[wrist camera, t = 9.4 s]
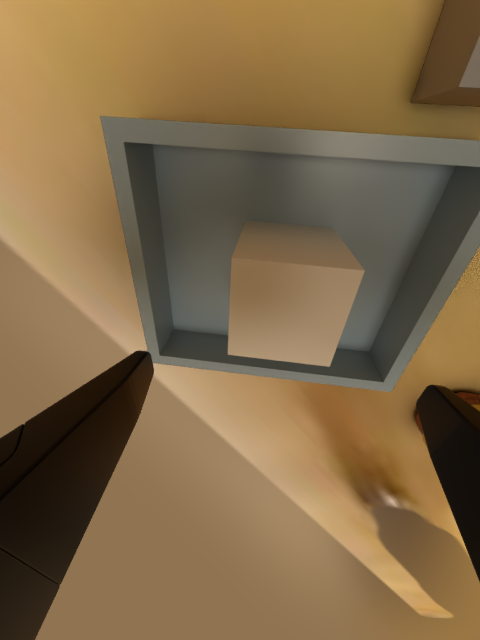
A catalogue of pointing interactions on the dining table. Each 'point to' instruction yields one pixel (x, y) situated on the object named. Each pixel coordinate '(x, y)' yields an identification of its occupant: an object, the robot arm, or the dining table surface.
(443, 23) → the bin
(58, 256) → the dining table surface
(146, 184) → the bin
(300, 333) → the stone block
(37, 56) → the dining table surface
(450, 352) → the dining table surface
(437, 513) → the dining table surface
